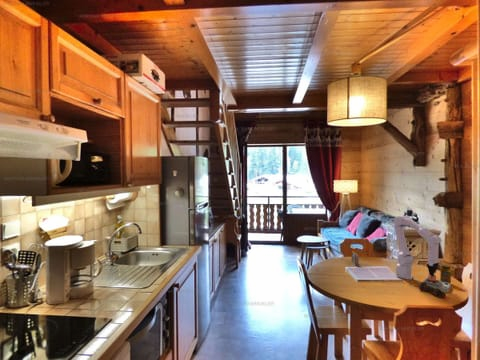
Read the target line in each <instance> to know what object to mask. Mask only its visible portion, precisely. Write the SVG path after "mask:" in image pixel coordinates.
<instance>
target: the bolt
mask: <svg viewBox="0 0 480 360" xmlns="http://www.w3.org/2000/svg"><path fill="white" fill-rule="evenodd" d="M418 288H419V290H420V291H426V292H429V293H431V294H433V296H435V297H441V298H443V299H444V298H446V296H447V293H446V292H442V291H441V290H440V289H438V288H436V289H435V288H432V287H430V286H428V285H427V284H426V283H425V282H423V281H421V282H420V283H419V285H418Z"/></svg>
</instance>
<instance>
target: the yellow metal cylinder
mask: <svg viewBox="0 0 480 360" xmlns="http://www.w3.org/2000/svg"><path fill="white" fill-rule="evenodd" d="M439 275H440V277H439V279H440V281H442V282H448V283H449V284H451V283H452V282H451V280H452V270H451V266H450V265H448V264H441V266H440V273H439ZM451 285H452V284H451Z"/></svg>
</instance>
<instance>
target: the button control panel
mask: <svg viewBox="0 0 480 360" xmlns="http://www.w3.org/2000/svg"><path fill="white" fill-rule="evenodd" d="M422 282H425V283H426V284H427V285H428V286H430V287H432V288H435V289H436V288H438V289H440V290H441V291H442V292H444V293H446V292H447V293H446V294H448V293H449V291H450V289H451V285H450V284H449V283H448V282H442V281H440V280H439V279H436V283H431V282H428V277H425V278H424V280H423V281H422Z"/></svg>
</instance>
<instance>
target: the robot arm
mask: <svg viewBox="0 0 480 360" xmlns="http://www.w3.org/2000/svg"><path fill="white" fill-rule="evenodd" d="M393 223H394V232H395V236H396V240H397V241H396V242H397V245H398V249H399V252H398V254H397V262H398V263H397V264H396V269H395V271H396V272H395V277H396V276H397V277H396V278H401V279H404V280H409V281H410V280H412V278H413V275H412V266H413V264H414V262H415V258H414V257H413V255H412V254H413V253H412V252H410V251H409V249H408V244H407V239H406V236H405V231H404V229H405V228H406V227H407V226H409V227H411V228H412V229H414V230H415V231H417V232H418V235H419V236H420V237H422V238H423V239H424V240H426V243H427V247H428V250H427V262H428V263H426V267H427V270H428V275H430V276H434V275H435V274H436V272H437V269H438V266H439V264H440V263H441V261H440V260H439V249H440V248H439V247H440V246H439V244H440V243H441V241H442V240H441V237H440V236H439V235H438V234H435V233H433V232H431V231H429V229H428V228H427V227H426V228H425V227H421V226H420V225H419V223H417V222H416V221H415V220H413V218H412V217H410V215H401V216H400V215H398V216H395V218H394V219H393Z"/></svg>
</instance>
